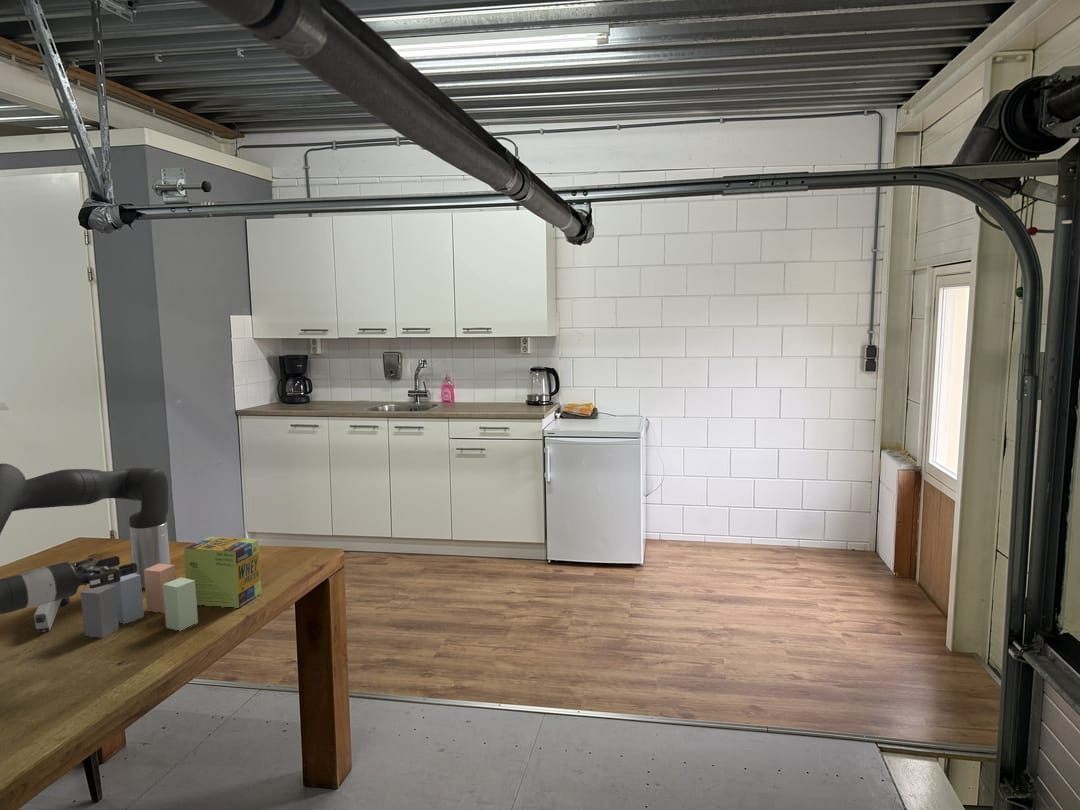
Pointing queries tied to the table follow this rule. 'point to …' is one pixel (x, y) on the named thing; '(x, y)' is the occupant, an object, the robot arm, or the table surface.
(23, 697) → the table surface
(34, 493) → the robot arm
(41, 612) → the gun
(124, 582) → the slate block
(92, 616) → the grey tall block
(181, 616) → the sage block
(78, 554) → the table surface
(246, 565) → the protein box
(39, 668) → the table surface
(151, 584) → the terracotta block
